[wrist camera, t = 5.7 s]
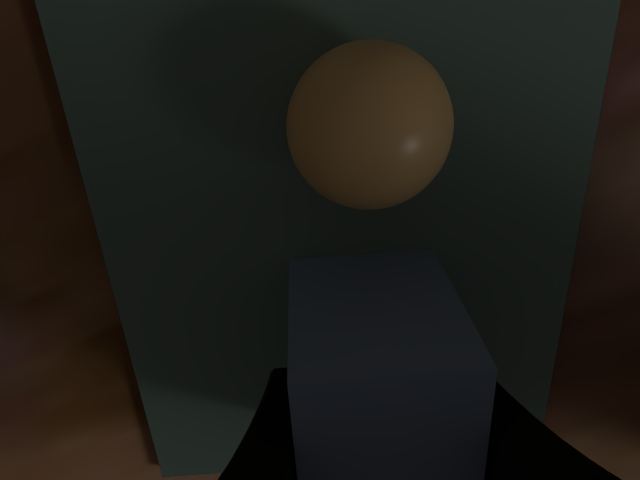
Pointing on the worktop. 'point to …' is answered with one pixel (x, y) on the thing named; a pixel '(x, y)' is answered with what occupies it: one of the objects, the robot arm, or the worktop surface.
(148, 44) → the pitch mat
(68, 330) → the worktop surface
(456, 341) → the block
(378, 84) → the ball
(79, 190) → the worktop surface
